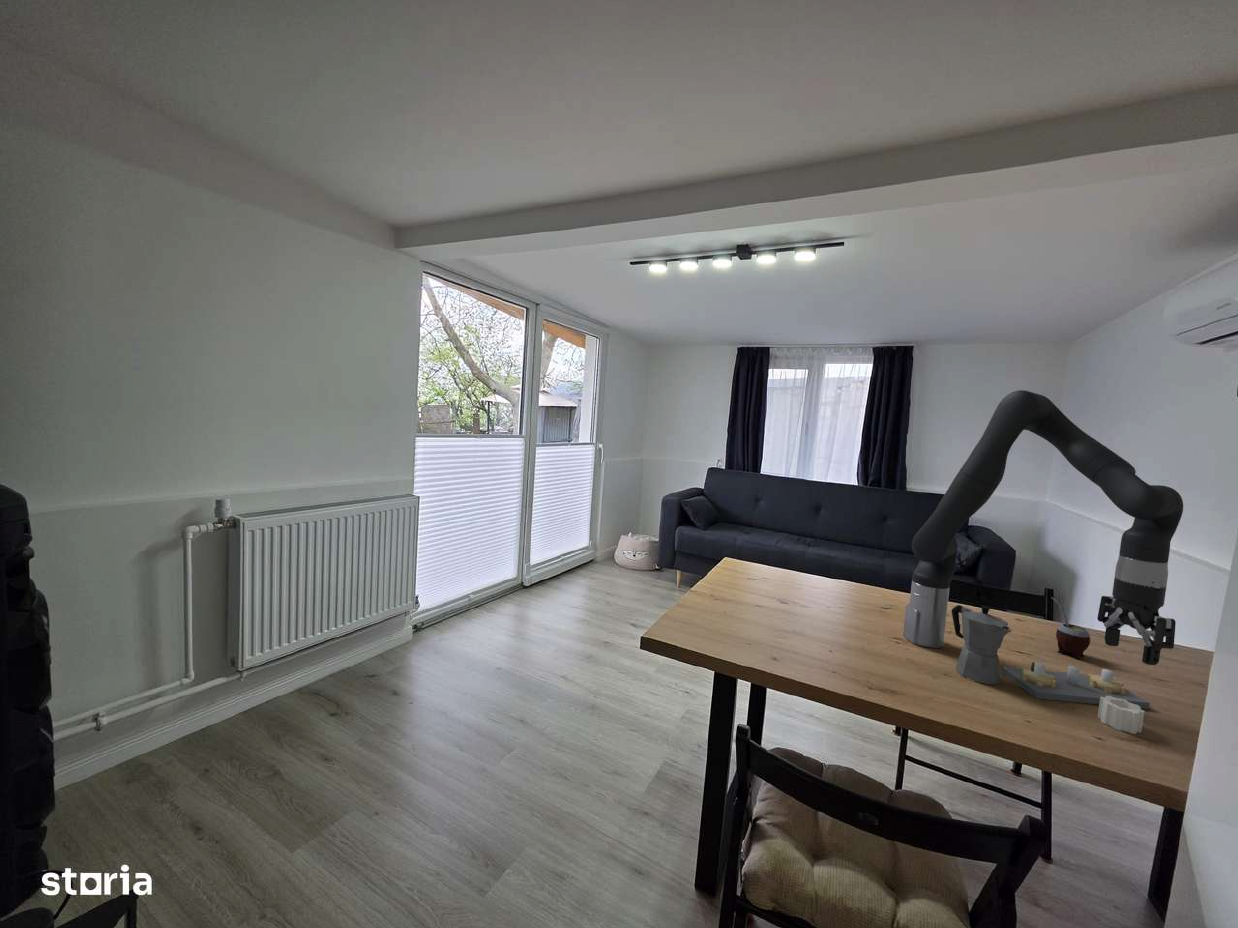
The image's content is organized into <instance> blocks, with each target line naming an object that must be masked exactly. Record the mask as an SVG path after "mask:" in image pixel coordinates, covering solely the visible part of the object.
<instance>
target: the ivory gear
mask: <svg viewBox="0 0 1238 928" xmlns="http://www.w3.org/2000/svg"><path fill="white" fill-rule="evenodd" d="M1097 710H1098V713H1097V718H1098V719H1100V722H1101V723H1102V724H1104V725H1107V726H1109V727H1111V728H1113V729H1115V730H1117V731H1119V732H1121V731H1122V732H1127V733H1130V734H1132V735H1133V734H1134V735H1137V733H1140V734H1141V733H1142V731H1143V723H1144V718H1145V710H1143V709H1142V708H1141V707H1140V706H1138V705H1137V704H1133V703H1130V702H1128V701H1127V700H1124V699H1121V698H1120V699H1118V698H1114V697H1112V696H1106V697H1100V703H1099V704H1098V709H1097Z"/></svg>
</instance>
